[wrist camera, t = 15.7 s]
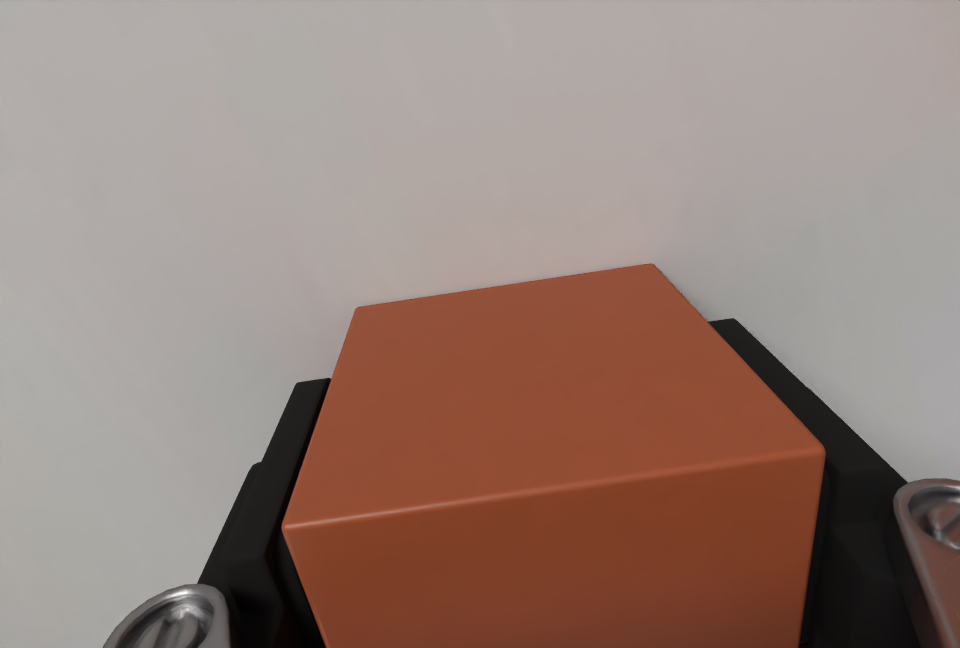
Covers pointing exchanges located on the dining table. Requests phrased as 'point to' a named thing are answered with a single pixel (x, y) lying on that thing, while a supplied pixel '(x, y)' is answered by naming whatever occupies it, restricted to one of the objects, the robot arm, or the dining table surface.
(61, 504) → the dining table surface
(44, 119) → the dining table surface
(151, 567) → the dining table surface
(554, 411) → the terracotta block
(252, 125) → the dining table surface
